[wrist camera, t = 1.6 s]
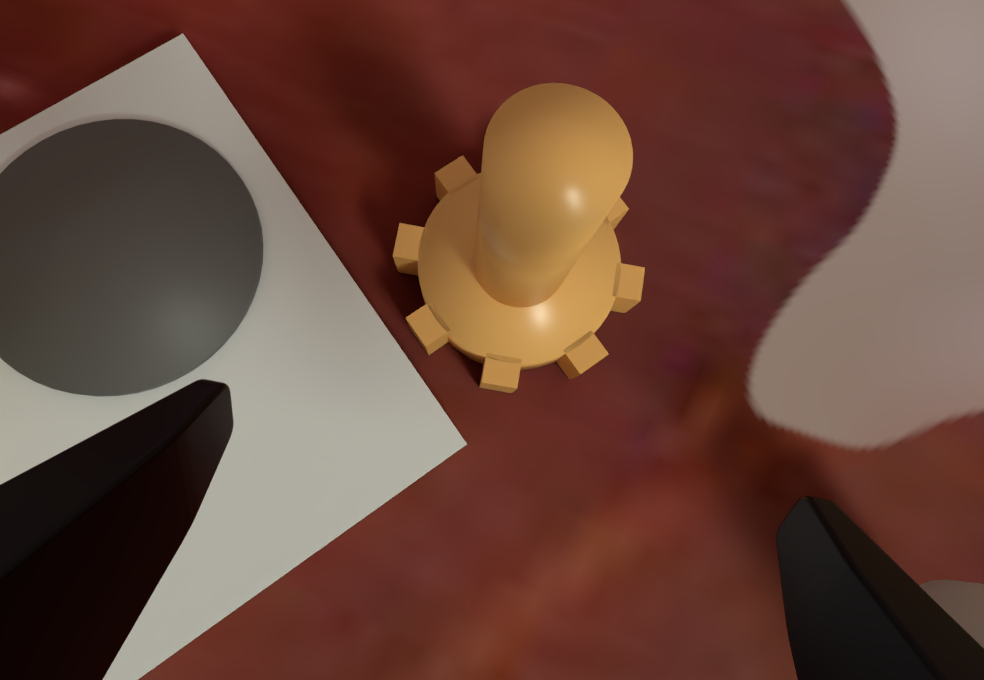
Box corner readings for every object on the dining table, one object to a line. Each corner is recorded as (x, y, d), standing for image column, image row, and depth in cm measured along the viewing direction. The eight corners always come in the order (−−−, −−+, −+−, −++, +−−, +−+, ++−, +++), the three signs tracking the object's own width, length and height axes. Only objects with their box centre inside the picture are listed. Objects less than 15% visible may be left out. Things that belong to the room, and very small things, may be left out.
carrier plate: (-16, 788, 19) (-161, 894, 15) (-273, 325, 21) (-470, 293, 16) (466, 443, 22) (468, 444, 17) (200, 59, 23) (140, -30, 19)
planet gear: (487, 439, 22) (512, 438, 12) (354, 248, 22) (273, 98, 13) (672, 306, 23) (836, 204, 13) (539, 129, 24) (598, -92, 14)
